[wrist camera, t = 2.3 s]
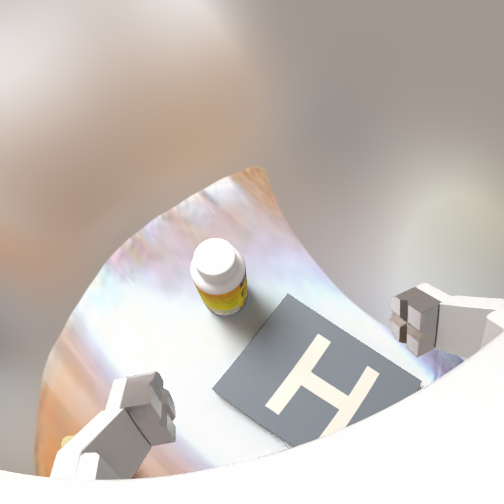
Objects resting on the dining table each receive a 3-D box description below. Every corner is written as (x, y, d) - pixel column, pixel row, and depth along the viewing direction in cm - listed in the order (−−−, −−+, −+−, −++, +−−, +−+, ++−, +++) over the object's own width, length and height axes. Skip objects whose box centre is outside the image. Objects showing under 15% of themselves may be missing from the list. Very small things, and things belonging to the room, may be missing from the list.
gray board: (415, 382, 30) (422, 381, 29) (354, 479, 25) (358, 482, 24) (286, 297, 36) (287, 293, 35) (214, 389, 31) (211, 388, 30)
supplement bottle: (251, 313, 35) (248, 279, 27) (205, 319, 35) (185, 287, 26) (245, 271, 38) (240, 226, 29) (201, 277, 38) (184, 234, 29)
